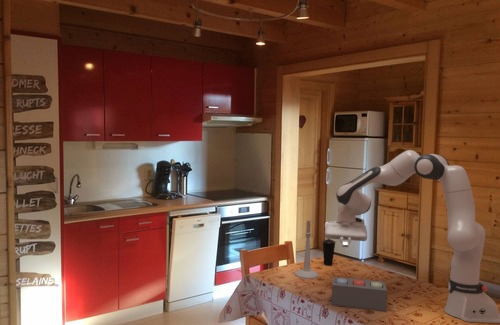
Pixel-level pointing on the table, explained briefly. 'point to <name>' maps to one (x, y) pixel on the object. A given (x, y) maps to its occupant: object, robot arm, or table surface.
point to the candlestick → (307, 259)
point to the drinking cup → (328, 251)
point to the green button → (376, 284)
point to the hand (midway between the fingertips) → (345, 246)
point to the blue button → (341, 280)
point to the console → (359, 295)
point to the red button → (359, 282)
